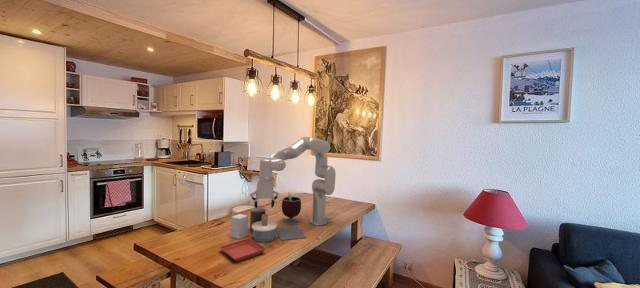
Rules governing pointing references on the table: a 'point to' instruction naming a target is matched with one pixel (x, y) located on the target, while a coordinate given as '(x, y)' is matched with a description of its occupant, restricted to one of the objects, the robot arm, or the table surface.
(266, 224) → the lid
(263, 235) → the bowl
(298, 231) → the mat
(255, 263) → the table surface
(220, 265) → the table surface
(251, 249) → the plant saucer
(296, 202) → the mate gourd
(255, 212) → the grey cylinder
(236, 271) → the table surface
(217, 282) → the table surface
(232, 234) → the supplement box
